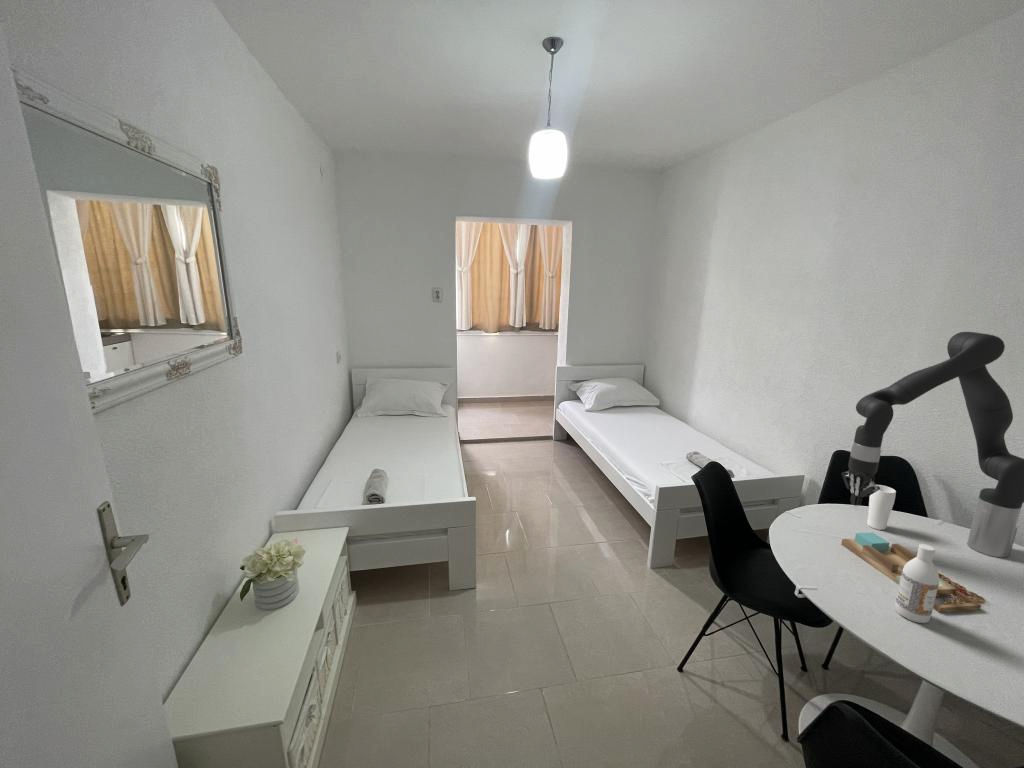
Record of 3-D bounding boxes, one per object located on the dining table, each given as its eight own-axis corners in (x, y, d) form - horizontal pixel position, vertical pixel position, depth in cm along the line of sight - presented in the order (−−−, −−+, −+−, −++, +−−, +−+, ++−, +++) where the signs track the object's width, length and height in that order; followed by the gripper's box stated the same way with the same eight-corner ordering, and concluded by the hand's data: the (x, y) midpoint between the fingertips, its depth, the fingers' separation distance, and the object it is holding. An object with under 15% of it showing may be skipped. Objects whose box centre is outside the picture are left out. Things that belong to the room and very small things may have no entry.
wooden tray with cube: (874, 542, 146) (876, 530, 145) (979, 610, 115) (983, 595, 114) (841, 544, 145) (843, 532, 144) (939, 612, 114) (942, 598, 113)
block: (871, 540, 144) (872, 532, 143) (887, 551, 138) (889, 542, 137) (854, 541, 143) (855, 533, 143) (870, 551, 138) (872, 543, 137)
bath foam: (916, 626, 110) (932, 556, 105) (887, 607, 116) (901, 541, 112) (936, 621, 111) (953, 553, 107) (907, 603, 118) (922, 537, 114)
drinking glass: (879, 522, 159) (886, 484, 156) (893, 532, 152) (901, 493, 149) (859, 521, 160) (866, 484, 156) (872, 531, 153) (880, 492, 150)
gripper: (893, 464, 136) (883, 514, 140) (857, 449, 149) (848, 495, 153) (872, 465, 136) (861, 514, 139) (837, 449, 149) (829, 495, 152)
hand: (855, 504), depth 146 cm, fingers closed
